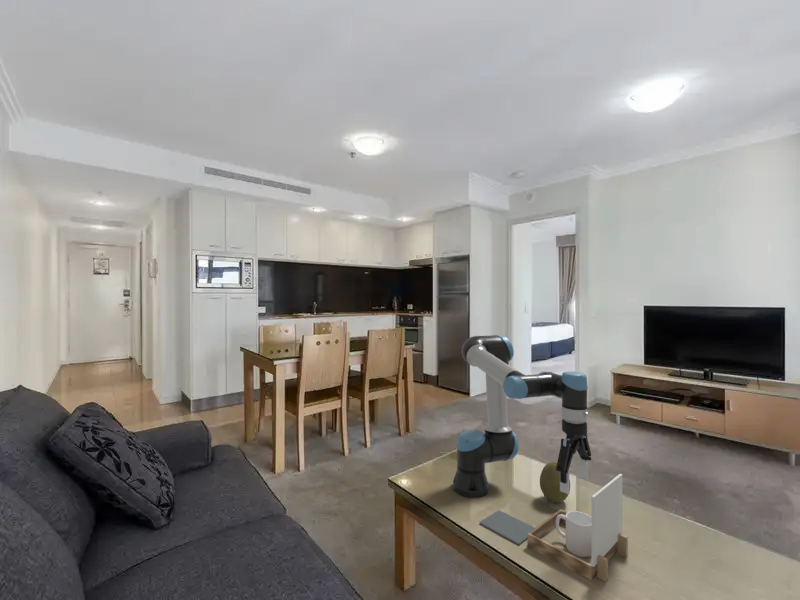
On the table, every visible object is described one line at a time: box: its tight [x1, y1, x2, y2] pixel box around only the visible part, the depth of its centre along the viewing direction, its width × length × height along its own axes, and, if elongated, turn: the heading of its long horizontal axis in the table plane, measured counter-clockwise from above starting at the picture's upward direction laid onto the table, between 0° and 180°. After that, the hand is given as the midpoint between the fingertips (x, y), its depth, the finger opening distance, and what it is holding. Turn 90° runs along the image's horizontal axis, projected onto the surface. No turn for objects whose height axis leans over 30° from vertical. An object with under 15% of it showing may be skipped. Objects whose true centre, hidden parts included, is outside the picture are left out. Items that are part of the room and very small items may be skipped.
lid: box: [590, 473, 629, 582], centre depth 116 cm, size 3×22×24 cm, turn 131°
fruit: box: [539, 461, 571, 503], centre depth 153 cm, size 11×11×15 cm
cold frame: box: [526, 509, 618, 581], centre depth 124 cm, size 20×23×4 cm
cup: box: [555, 510, 592, 558], centre depth 124 cm, size 8×12×10 cm
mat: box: [478, 509, 536, 546], centre depth 135 cm, size 16×12×1 cm
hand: (574, 485), depth 124 cm, fingers open, 13 cm apart
